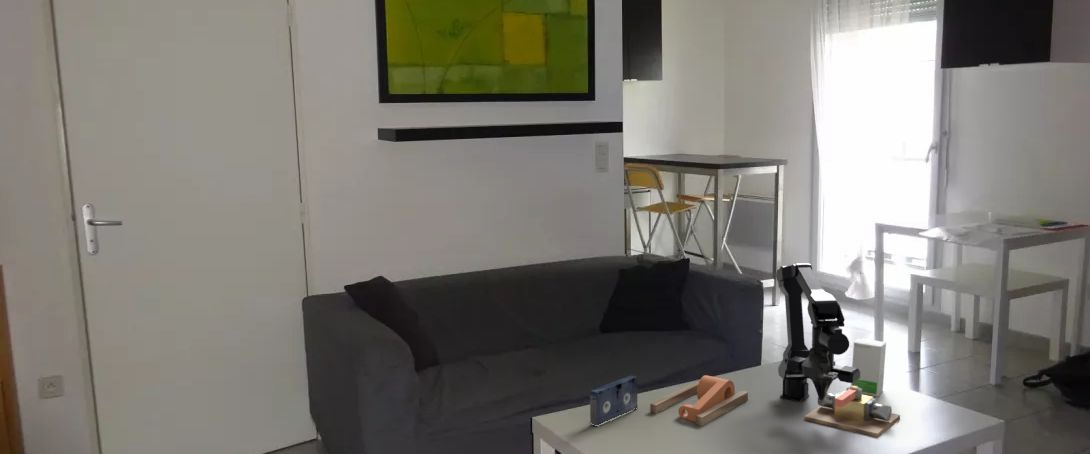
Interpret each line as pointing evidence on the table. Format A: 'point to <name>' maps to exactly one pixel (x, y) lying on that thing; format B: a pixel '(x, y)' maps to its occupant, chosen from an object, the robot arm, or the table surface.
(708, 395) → the crank
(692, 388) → the pair of wooden rails
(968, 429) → the table surface
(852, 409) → the valve
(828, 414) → the board
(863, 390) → the skincare box
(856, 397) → the lever
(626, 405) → the vhs cassette tape
